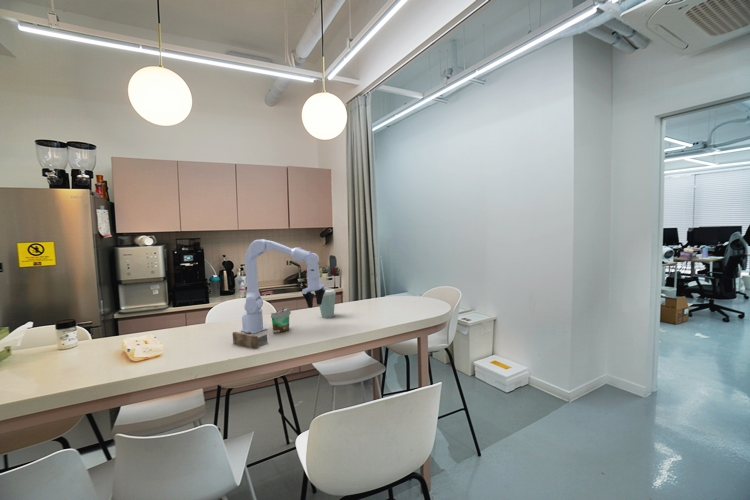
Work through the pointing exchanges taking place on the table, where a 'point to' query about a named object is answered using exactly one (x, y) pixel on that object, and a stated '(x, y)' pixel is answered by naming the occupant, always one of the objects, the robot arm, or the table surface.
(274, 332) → the food container
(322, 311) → the disposable coffee cup
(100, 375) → the table surface
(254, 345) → the holder bay
